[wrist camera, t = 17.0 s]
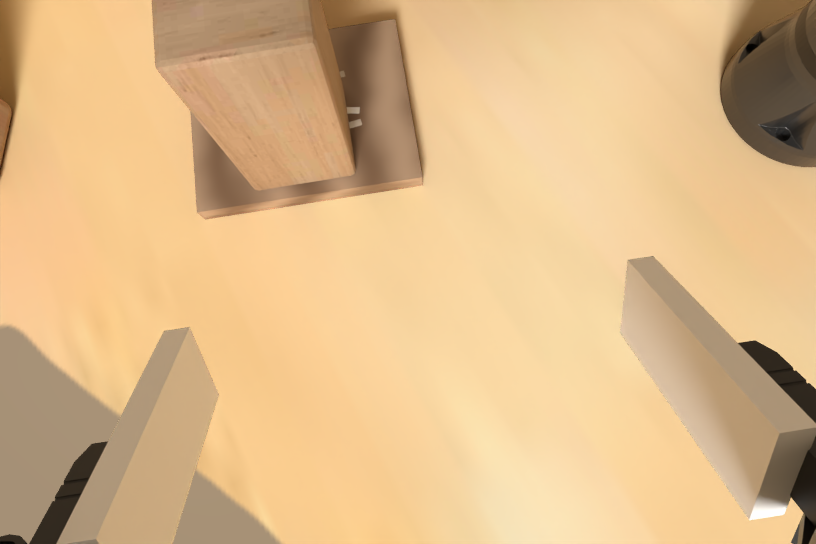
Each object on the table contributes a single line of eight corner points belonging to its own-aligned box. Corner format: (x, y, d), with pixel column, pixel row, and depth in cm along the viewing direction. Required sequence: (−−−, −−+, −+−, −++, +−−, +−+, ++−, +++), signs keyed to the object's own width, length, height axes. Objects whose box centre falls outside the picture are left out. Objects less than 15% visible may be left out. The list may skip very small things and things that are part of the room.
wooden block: (246, 101, 54) (144, -66, 34) (343, 86, 54) (297, -90, 34) (255, 193, 51) (152, 69, 32) (357, 176, 52) (316, 42, 32)
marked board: (396, 31, 57) (395, 18, 56) (422, 185, 53) (422, 177, 51) (194, 62, 57) (186, 51, 55) (205, 219, 53) (197, 212, 51)
